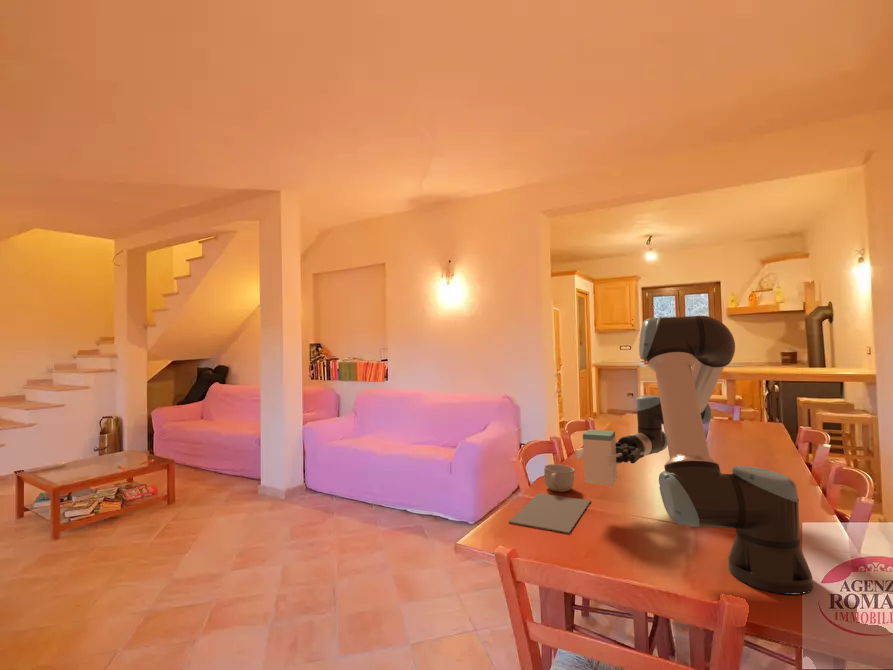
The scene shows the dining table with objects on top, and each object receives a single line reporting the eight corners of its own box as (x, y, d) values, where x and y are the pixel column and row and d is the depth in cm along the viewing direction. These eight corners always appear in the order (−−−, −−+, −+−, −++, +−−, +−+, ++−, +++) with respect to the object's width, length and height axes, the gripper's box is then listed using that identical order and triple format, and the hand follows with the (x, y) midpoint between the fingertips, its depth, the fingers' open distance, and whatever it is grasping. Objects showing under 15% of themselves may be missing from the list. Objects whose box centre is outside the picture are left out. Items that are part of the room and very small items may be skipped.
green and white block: (612, 485, 129) (610, 435, 129) (584, 482, 133) (582, 434, 133) (617, 478, 136) (615, 431, 136) (590, 475, 140) (588, 429, 140)
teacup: (552, 483, 169) (552, 462, 169) (580, 488, 162) (579, 466, 162) (535, 493, 158) (534, 470, 158) (563, 499, 151) (562, 475, 151)
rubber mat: (569, 534, 123) (569, 532, 123) (508, 523, 132) (508, 521, 132) (590, 501, 148) (590, 500, 148) (538, 494, 156) (538, 493, 156)
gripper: (669, 464, 135) (627, 478, 123) (603, 451, 154) (561, 462, 142) (667, 440, 136) (626, 451, 123) (602, 430, 155) (560, 439, 142)
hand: (591, 457), depth 132 cm, fingers closed on green and white block, 11 cm apart
